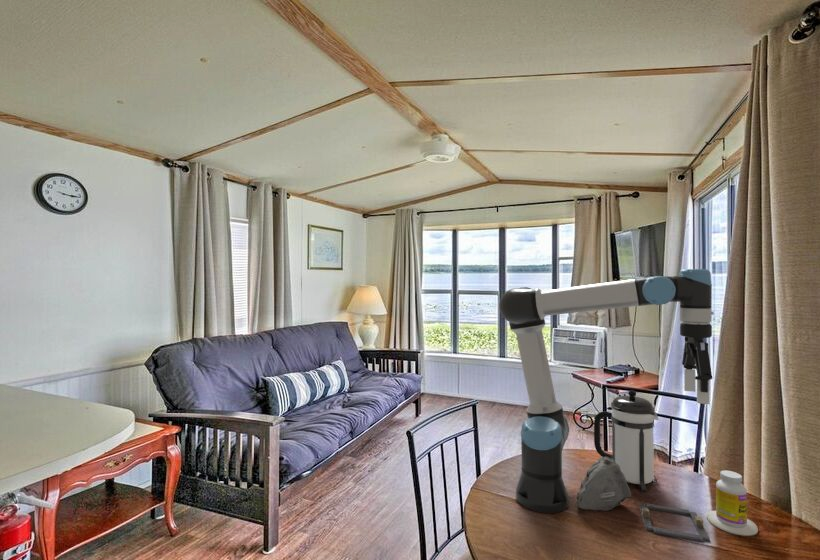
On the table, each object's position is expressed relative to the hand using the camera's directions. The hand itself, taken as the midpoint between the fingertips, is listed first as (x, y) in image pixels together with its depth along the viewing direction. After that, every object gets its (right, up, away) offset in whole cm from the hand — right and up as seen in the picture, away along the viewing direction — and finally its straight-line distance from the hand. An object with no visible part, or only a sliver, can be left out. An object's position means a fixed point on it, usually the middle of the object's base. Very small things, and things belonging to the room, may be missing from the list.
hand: (696, 397), depth 120 cm
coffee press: (-10, -33, +19) cm, 39 cm away
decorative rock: (-26, -33, +1) cm, 42 cm away
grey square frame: (-11, -33, -6) cm, 35 cm away
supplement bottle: (+5, -32, -6) cm, 33 cm away
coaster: (+5, -33, -6) cm, 34 cm away
